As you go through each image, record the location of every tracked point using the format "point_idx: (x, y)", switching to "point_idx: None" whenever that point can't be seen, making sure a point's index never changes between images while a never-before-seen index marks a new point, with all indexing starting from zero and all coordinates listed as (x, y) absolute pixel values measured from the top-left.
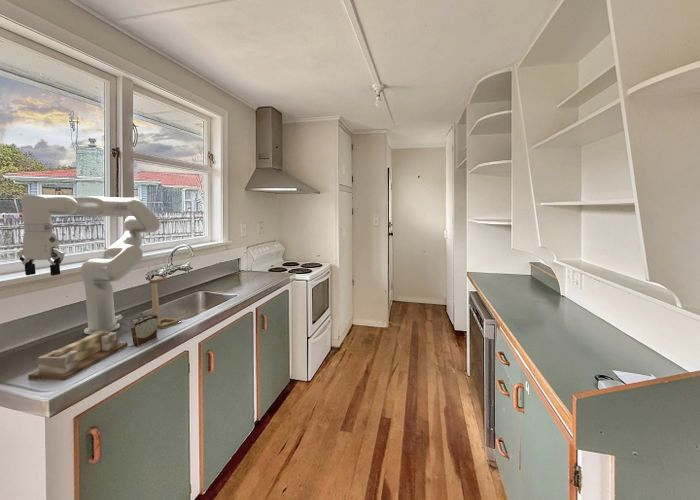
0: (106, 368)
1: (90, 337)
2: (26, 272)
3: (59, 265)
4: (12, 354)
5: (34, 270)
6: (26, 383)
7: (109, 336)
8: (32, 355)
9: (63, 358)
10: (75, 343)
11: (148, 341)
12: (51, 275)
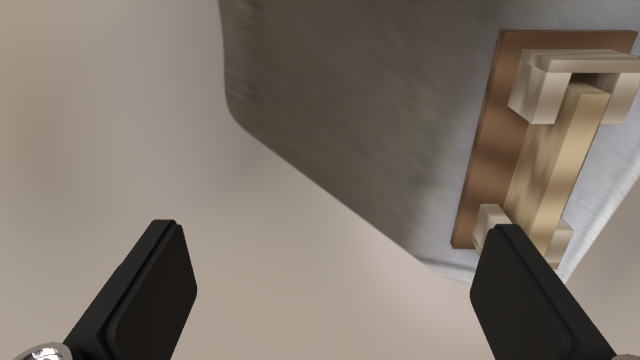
0: (618, 192)
1: (577, 158)
2: (182, 320)
3: (586, 317)
4: (255, 120)
5: (164, 260)
6: (462, 256)
7: (627, 108)
8: (329, 125)
9: (557, 264)
10: (552, 207)
11: None
12: (474, 294)
